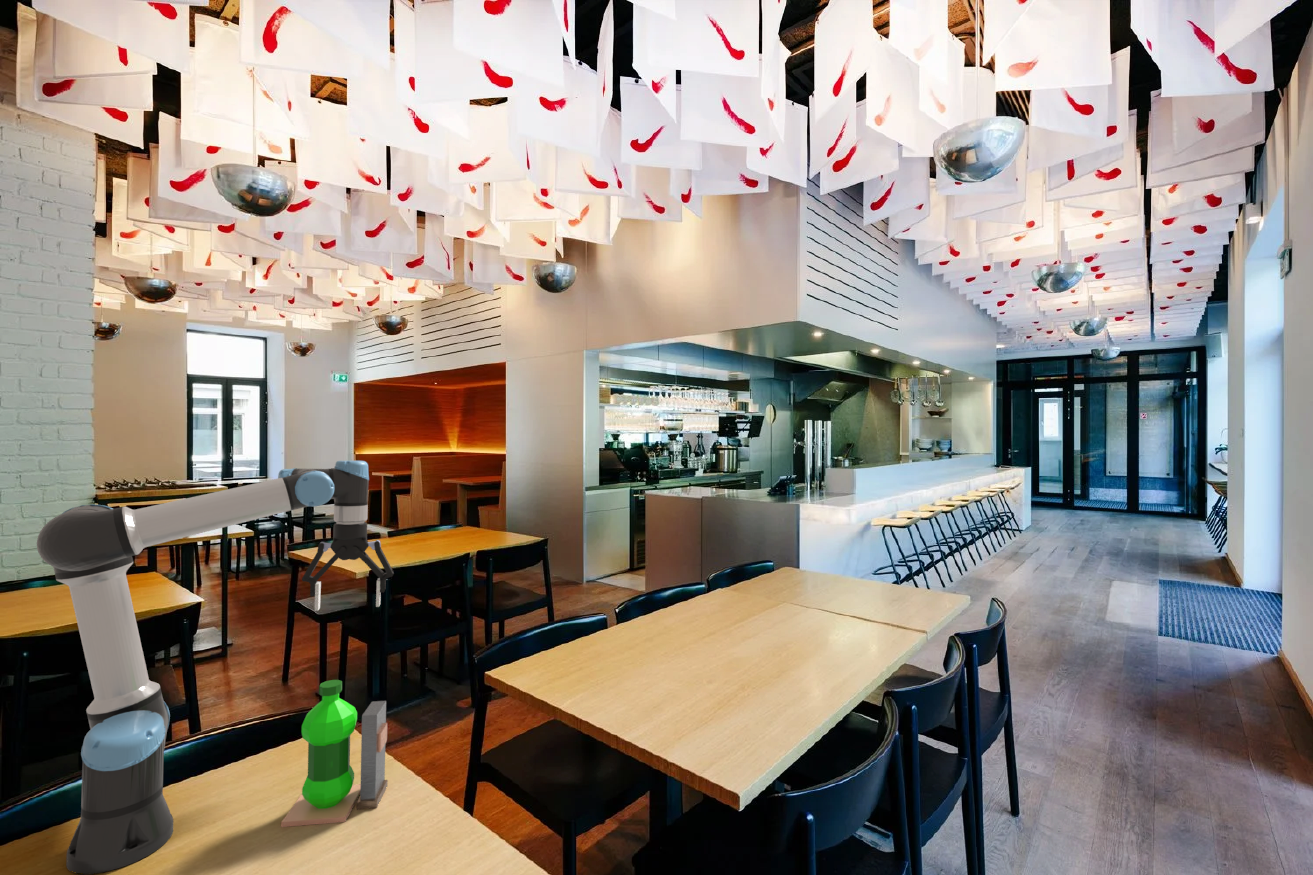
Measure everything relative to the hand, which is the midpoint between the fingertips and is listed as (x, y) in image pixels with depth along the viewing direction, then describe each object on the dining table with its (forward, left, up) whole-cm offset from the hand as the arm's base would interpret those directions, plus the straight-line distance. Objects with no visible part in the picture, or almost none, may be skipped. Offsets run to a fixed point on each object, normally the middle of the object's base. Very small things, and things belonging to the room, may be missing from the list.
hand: (348, 607), depth 149 cm
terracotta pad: (+3, -22, -36) cm, 43 cm away
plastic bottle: (+4, -22, -36) cm, 42 cm away
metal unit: (+12, -20, -36) cm, 43 cm away
